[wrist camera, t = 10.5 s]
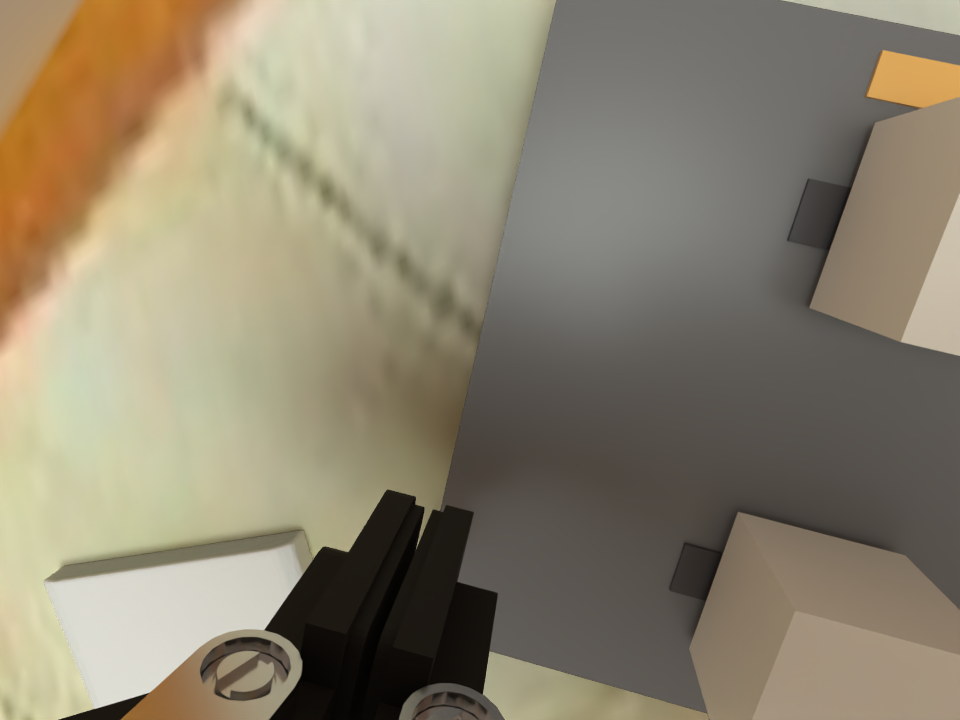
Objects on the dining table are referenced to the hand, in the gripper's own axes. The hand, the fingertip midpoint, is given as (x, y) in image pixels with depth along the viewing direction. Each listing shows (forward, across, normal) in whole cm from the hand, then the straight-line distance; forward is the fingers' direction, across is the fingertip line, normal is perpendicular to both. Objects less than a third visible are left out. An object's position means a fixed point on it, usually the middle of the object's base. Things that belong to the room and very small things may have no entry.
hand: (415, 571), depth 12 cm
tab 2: (+3, -8, 0) cm, 8 cm away
